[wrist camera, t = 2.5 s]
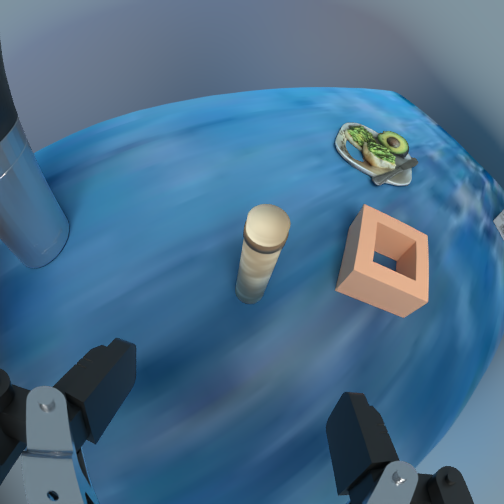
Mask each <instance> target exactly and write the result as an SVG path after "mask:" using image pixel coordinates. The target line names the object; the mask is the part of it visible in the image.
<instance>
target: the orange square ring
mask: <svg viewBox="0 0 504 504" xmlns="http://www.w3.org/2000/svg"><path fill="white" fill-rule="evenodd" d="M374 251H376V252H378V253H380V254H382V255H385V256H387V257H389V258H391V259H393V260H395V261H397V264H396V272H395V271H393V270H391V269H388V268H386V267H384V266H382V265H379V264H377V263H375V262H373V255H374ZM428 287H429V261H428V237H427V235H425V234H424V233H422V232H420V231H418V230H416V229H414V228H412V227H410V226H408V225H406V224H404V223H402V222H401V221H399V220H397V219H395V218H393V217H390V216H388V215H386V214H384V213H382V212H380V211H378V210H376V209H374V208H372V207H370V206H367V205H365V204H364V205H363V207H362V208H361V210H360V212H359V213H358V215H357V216H356V218H355V219H354V221H353V223H352V224H351V226H350V227H349V231H348V236H347V241H346V246H345V250H344V255H343V259H342V264H341V268H340V272H339V277H338V281H337V285H336V289H335V291H338V292H340V293H343V294H345V295H348V296H350V297H353V298H355V299H358V300H360V301H363V302H365V303H368V304H370V305H373V306H375V307H378V308H380V309H383V310H385V311H388V312H390V313H393V314H395V315H398V316H400V317H403V318H404V317H406V316H407V315H409V314H411V313H412V312H414V311H415V310H417V309H418V308H420V307H422V306H423V305H425V304H426V303H428Z"/></svg>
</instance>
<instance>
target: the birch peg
mask: <svg viewBox="0 0 504 504" xmlns="http://www.w3.org/2000/svg"><path fill="white" fill-rule="evenodd" d="M289 229H290V219H289V216H288V215H287V213H286V212H285V211H284V210H282V209H281V208H279V207H277V206H275V205H271V204H261V205H258V206H255V207H254V208H252V209H251V210H250V212H249V214H248V217H247V220H246V222H245V226H244V232H243V237H244V240H243V246H242V252H241V258H240V264H239V270H238V276H237V282H236V288H235V292H236V296H237V297H238V299H239V300H240V301H242V302H244V303H246V304H254V303H256V302H258V301H259V300H260V299H261V298H262V296H263V294H264V291H265V289H266V287H267V284H268V282H269V279H270V277H271V274H272V272H273V269H274V267H275V264H276V262H277V259H278V257H279V254H280V252H281V249H282V248H283V246H284V245H285V243H286V240H287V238H288V233H289Z"/></svg>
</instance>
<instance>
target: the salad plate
mask: <svg viewBox="0 0 504 504" xmlns="http://www.w3.org/2000/svg"><path fill="white" fill-rule="evenodd" d="M347 140H348V141H349V142H350V143H351V144H352V145H353V146H355V147H356V148H357V149H359V150H360V151H361V152H362V154H363V156H364V158H363V160H364V162H361V161H358V160H355V159H354V158H352V157H351V155H350V154H349V153H348V151H347V149H346V141H347ZM335 146H336V149H337V150H338V152H339V153H340V155H341V156H342V157H343V158H344V159H345V160H346V161H347V162H348V163H349V164H350V165H351V166H353V167H354V168H356V169H357V170H359V171H361V172H363V173H365V174H367V175H369V176H370V177H372V181H373V182H374V183H375V184H376V185H382V184H384V183H388V184H392V185H396V186H403V185H405V186H406V185H408V184H409V183H410V182H411V178H412V177H411V176H412V175H411V174H412V170H411V168H412V167H414V166H416V165H417V164H418V161H417V159H416V158H412V157H410V155H409V154H408V151H409V146H408V143H407V141H406V140H405V139H404V138H403V137H402V136H400V135H398V134H396V133H394V132H391V131H386V132H385V131H383V133H377V132H375V131H373V130H372V129H370V128H368V127H366V126H364V125H361V124H358V123H345V124H344V125H343V126H342V127H341V128H340V131H339V133H338V135H337V137H336V141H335Z"/></svg>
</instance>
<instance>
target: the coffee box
mask: <svg viewBox="0 0 504 504" xmlns="http://www.w3.org/2000/svg"><path fill="white" fill-rule="evenodd" d="M494 223H495V225H496V227H497V229H498V231H499V232H500V234H501V236H502V238H503V240H504V210H503V211H502V212H501V213H500V214H499V215H498V216H497V217H496V218H495V220H494Z"/></svg>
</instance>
